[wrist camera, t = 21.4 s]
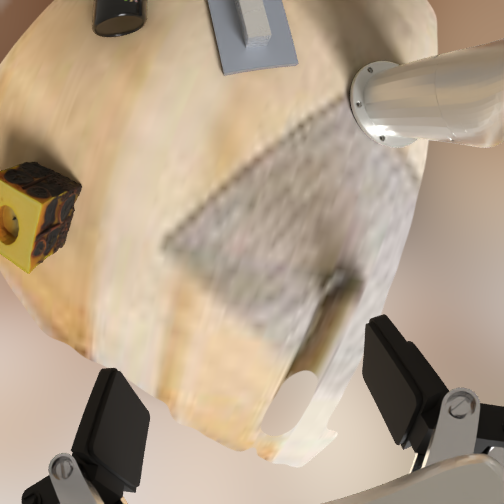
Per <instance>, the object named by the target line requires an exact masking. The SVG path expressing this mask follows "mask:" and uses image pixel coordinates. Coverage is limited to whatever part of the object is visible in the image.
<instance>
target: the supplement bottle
mask: <svg viewBox="0 0 504 504" xmlns="http://www.w3.org/2000/svg"><path fill="white" fill-rule="evenodd" d="M146 20H147V0H94V9H93V21H92V29H93V32H94V33H95V34H97V35H99V36H102V37H117V36H122V35H127V34H130V33H133V32H135V31H137V30H139V29H140V28H142V27H143V26H144V24H145V23H146Z"/></svg>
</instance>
